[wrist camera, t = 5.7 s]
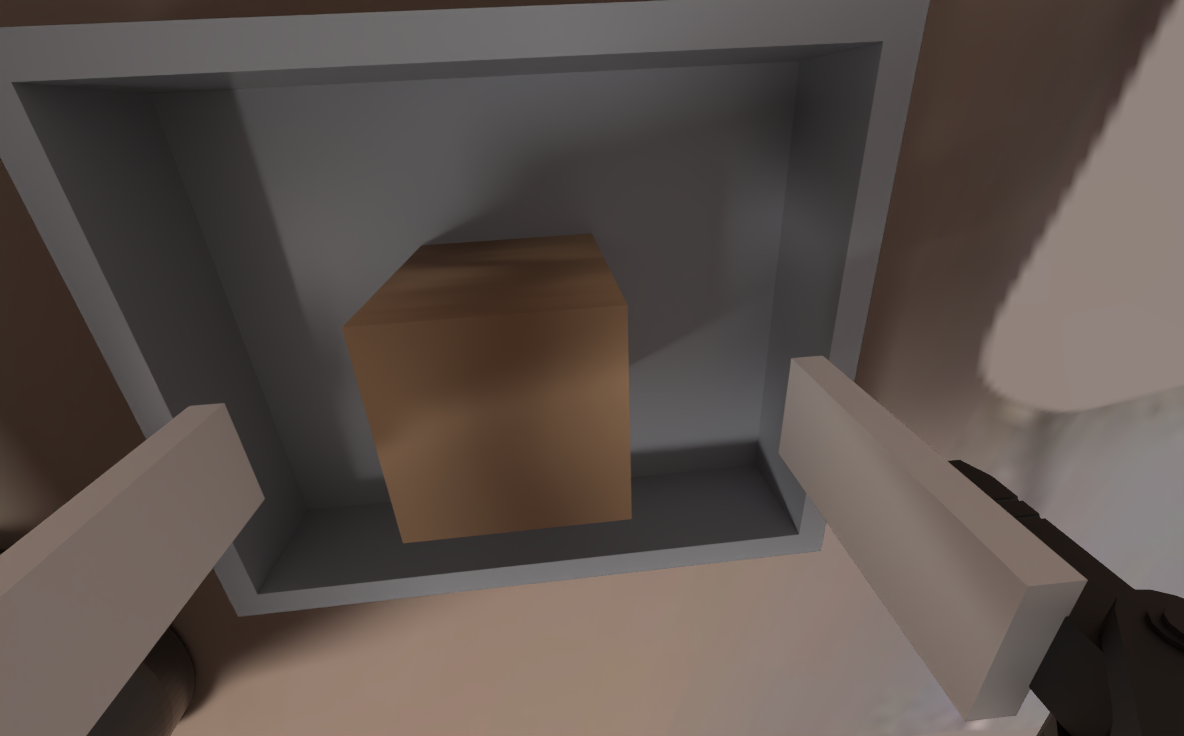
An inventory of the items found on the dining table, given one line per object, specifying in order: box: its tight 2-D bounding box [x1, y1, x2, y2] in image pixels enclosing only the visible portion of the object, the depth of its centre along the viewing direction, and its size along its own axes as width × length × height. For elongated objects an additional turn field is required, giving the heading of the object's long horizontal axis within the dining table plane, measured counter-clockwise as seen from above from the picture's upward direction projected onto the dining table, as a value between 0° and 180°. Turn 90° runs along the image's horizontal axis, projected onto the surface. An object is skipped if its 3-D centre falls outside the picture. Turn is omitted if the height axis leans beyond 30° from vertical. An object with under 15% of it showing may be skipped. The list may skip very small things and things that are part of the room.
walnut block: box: [342, 234, 632, 543], centre depth 16 cm, size 6×6×8 cm
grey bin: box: [0, 0, 930, 617], centre depth 18 cm, size 22×18×5 cm
